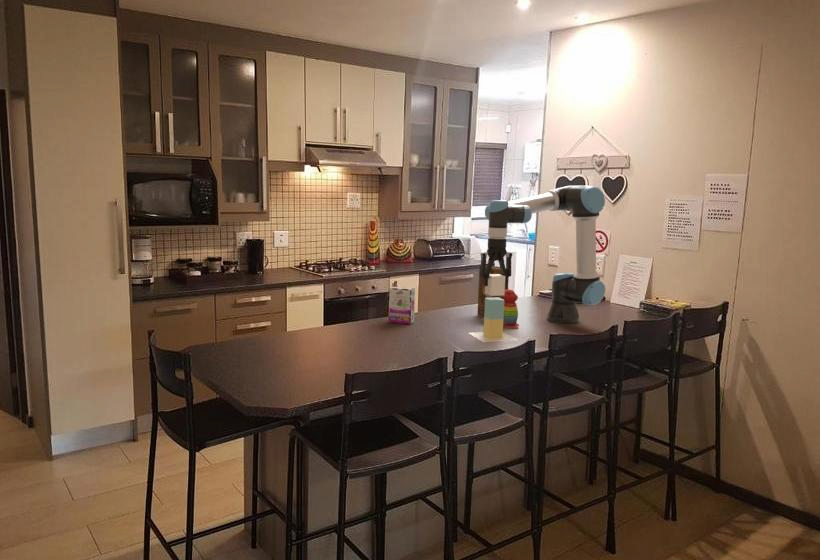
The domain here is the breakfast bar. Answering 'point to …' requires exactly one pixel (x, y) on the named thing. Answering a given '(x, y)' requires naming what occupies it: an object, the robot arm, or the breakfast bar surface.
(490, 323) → the brick base
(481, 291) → the book
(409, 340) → the breakfast bar surface
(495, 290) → the brick
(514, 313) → the stacking bear
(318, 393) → the breakfast bar surface
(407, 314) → the candy bar box
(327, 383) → the breakfast bar surface
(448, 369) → the breakfast bar surface
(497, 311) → the brick
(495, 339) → the build plate
